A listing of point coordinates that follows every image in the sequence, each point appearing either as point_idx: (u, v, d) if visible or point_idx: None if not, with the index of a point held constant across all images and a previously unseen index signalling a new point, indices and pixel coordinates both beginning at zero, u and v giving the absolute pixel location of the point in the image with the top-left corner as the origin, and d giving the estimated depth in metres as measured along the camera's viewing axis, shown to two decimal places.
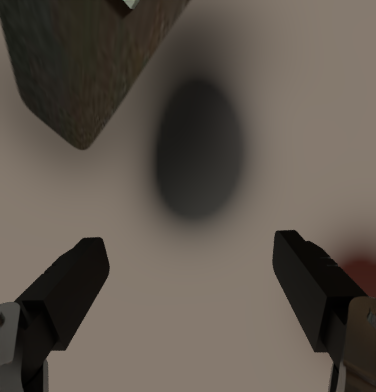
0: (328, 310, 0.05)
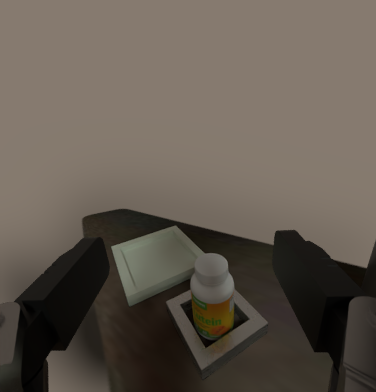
0: (328, 310, 0.05)
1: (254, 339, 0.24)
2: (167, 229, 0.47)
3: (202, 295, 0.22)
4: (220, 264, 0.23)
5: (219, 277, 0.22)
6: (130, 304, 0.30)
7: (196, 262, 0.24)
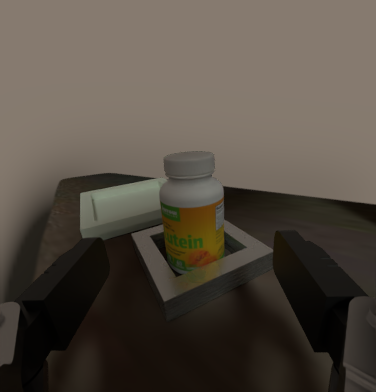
0: (328, 310, 0.05)
1: (254, 273, 0.16)
2: (151, 180, 0.39)
3: (172, 195, 0.15)
4: (202, 154, 0.15)
5: (199, 163, 0.14)
6: None
7: (167, 155, 0.16)
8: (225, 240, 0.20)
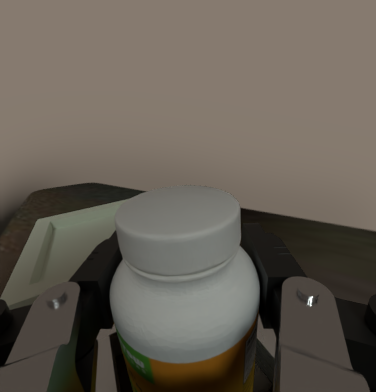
0: (270, 289, 0.06)
1: None
2: None
3: (130, 322, 0.05)
4: (210, 203, 0.06)
5: (204, 244, 0.05)
6: None
7: (129, 202, 0.07)
8: None
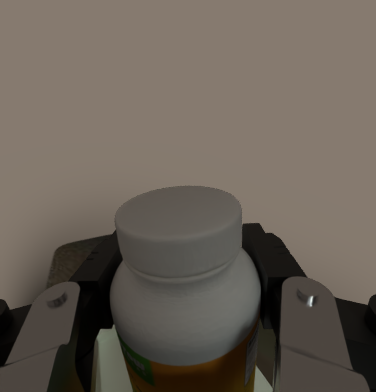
0: (270, 289, 0.06)
1: None
2: None
3: (131, 324, 0.05)
4: (212, 205, 0.06)
5: (205, 245, 0.05)
6: None
7: (129, 203, 0.07)
8: None
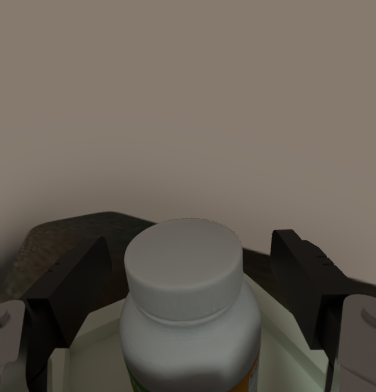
0: (323, 308, 0.05)
1: None
2: None
3: (141, 362, 0.06)
4: (214, 244, 0.07)
5: (210, 292, 0.05)
6: None
7: (136, 240, 0.07)
8: None
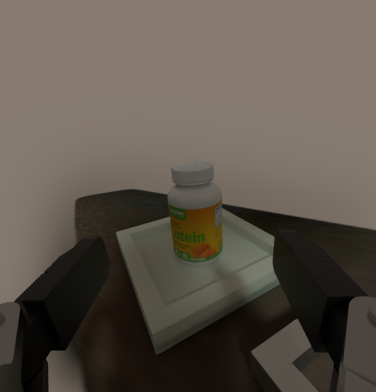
0: (328, 310, 0.05)
1: None
2: None
3: (179, 199, 0.18)
4: (203, 165, 0.19)
5: (201, 173, 0.17)
6: (159, 349, 0.13)
7: (174, 166, 0.19)
8: None
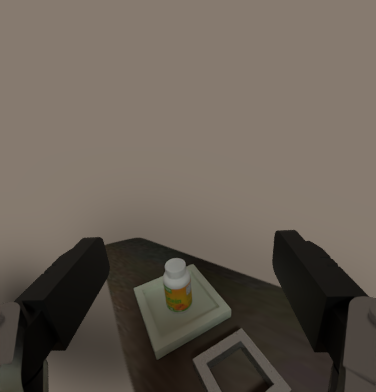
0: (328, 310, 0.05)
1: None
2: None
3: (168, 284, 0.37)
4: (180, 265, 0.37)
5: (178, 272, 0.36)
6: (158, 357, 0.32)
7: (166, 263, 0.38)
8: (256, 366, 0.30)
